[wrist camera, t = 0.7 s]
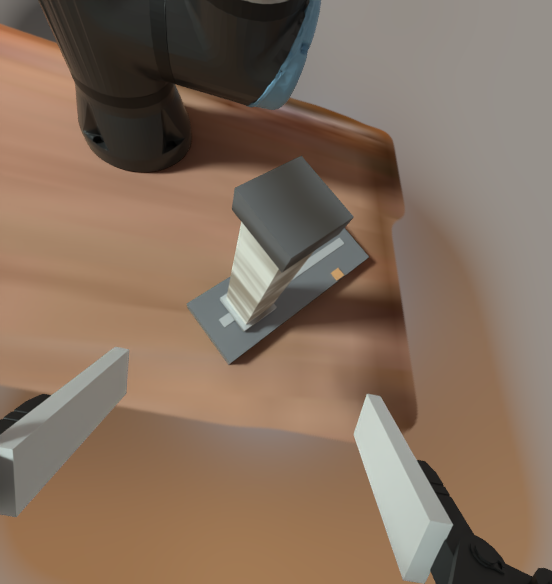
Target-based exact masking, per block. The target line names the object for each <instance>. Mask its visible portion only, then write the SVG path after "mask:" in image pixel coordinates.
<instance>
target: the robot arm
mask: <svg viewBox="0 0 552 584" xmlns="http://www.w3.org/2000/svg"><path fill="white" fill-rule="evenodd" d="M38 1H39V3H40V5H41V8H42V10H43V12H44V14H45V17H46V19H47V21H48V23H49V26H50V28H51V30H52V32H53V35H54V37H55V39H56V41H57V44H58V46H59V48H60V50H61V53H62V55H63V57H64V59H65V61H66V64H67V66H68V68H69V70H70V72H71V75H72V77H73V79H74V82H75V88H76V100H77V112H78V122H79V125H80V129H81V131H82V133H83V135H84V137H85V139H86V141H87V143H88V145H89V147H90V148H91V149H92V151H93V152H94V153H95V154H96V155H97V156H98V157H100V158H101V159H102V160H104V161H105V162H107V163H109V164H111V165H113V166H115V167H118V168H121V169H124V170H129V171H136V172H151V171H157V170H162V169H165V168H168V167H170V166H172V165H174V164H175V163H177V162H178V161H180V160H181V159H182V158H183V157H184V156H185V155H186V153H187V152H188V150H189V148H190V145H191V138H192V137H191V124H190V119H189V116H188V113H187V111H186V109H185V106H184V104H183V102H182V99H181V97H180V95H179V93H178V90H177V88H176V86H175V84H177V85H180V86H183V87H187V88H190V89H193V90H197V91H200V92H203V93H207V94H210V95H214V96H217V97H220V98H224V99H227V100H230V101H234V102H237V103H240V104H244V105H246V106H249V107H260V108H264V109H269V110H275V109H279V108H280V107H282V106H283V105H284V104H285V103H286V102H287V101H288V99H289V98H290V96H291V94H292V92H293V91H294V89H295V86H296V84H297V82H298V80H299V77H300V75H301V73H302V70H303V67H304V64H305V61H306V58H307V51H308V49H309V47H310V45H311V42H312V39H313V36H314V33H315V29H316V25H317V21H318V17H319V12H320V5H321V0H38ZM128 360H129V349H124V348H119V347H114V348H113V349H111V350H110V351H109V352H108V353H106V354H105V355H104V356H102V357H101V358H100V359H98V360H97V361H96V362H94V363H93V364H92V365H91V366H89V367H88V368H87V369H85V370H84V371H83V372H81V373H80V374H79V375H77V376H76V377H75V378H74V379H72V380H71V381H70V382H68V383H67V384H66V385H64V386H63V387H62V388H61V389H59V390H58V391H57V392H55V393H54V394H53V395H47V394H41V395H39V396H37V397H34V398H32V399H30V400H28V401H26V402H25V403H23V404H22V405H20V406H19V407H18V408H16V409H15V410H14V412H11V413H9V414H8V415H6V416H5V417H4V418H3V419H1V420H0V514H1V515H7V516H13V517H17V516H18V515H19V514H20V512H21V511H22V510H23V509H24V508H25V507H26V506H27V504H28V503H29V502H30V501H31V500H32V499H33V498H34V497H35V496H36V494H37V493H38V492H39V491H40V490H41V489H42V488H43V486H44V485H45V484H46V483H47V482H48V481H49V480H50V479H51V477H52V476H53V475H54V474H55V473H56V472H57V471H58V470H59V469H60V467H61V466H62V465H63V464H64V463H65V462H66V461H67V460H68V458H69V457H70V456H71V455H72V454H73V453H74V452H75V451H76V449H77V448H78V447H79V446H80V445H81V444H82V443H83V442H84V440H85V439H86V438H87V437H88V436H89V435H90V434H91V433H92V431H93V430H94V429H95V428H96V427H97V426H98V425H99V423H100V422H101V421H102V420H103V419H104V418H105V417H106V416H107V415H108V413H109V412H110V411H111V410H112V409H113V408H114V407H115V406H116V404H117V403H118V402H119V401H120V400H121V399H122V398H123V397H124V395H125V394H126V390H127V375H128ZM354 437H355V440H356V443H357V446H358V449H359V452H360V455H361V458H362V460H363V464H364V467H365V469H366V472H367V475H368V478H369V481H370V484H371V487H372V490H373V493H374V496H375V499H376V502H377V505H378V508H379V511H380V514H381V516H382V519H383V522H384V525H385V528H386V531H387V534H388V537H389V540H390V543H391V546H392V549H393V552H394V555H395V558H396V560H397V563H398V567H399V569H400V572H401V575H402V578H403V580H405V581H411V582H417V583H424V584H425V582H426V580H427V578H428V576H429V573H430V571H431V573H432V575H433V578H434V580H435V582H436V584H552V571H551V570H548V569H546V568H538V570H537V571H536V572H535V574H534V575H533V577H532V576H530V575H528V574H525V573H523V572H521V571H519V570H517V569H515V568H513V567H511V566H509V565H507V564H505V562H504V560H503V559H502V557H501V556H500V555H499V554H498V553H497V551H496V550H495V549H494V548H493V547H492V546H491V545H489V544H488V543H487V542H486V541H484V540H483V539H481V538H479V537H478V536H475V535H474V533H473V532H472V530H471V529H470V527H469V525H468V524H467V522H466V521H465V519H464V517H463V516H462V514H461V512H460V511H459V509H458V508H457V506H456V504H455V503H454V501H453V499H452V498H451V497H450V496H449V493H448V491H447V490H446V488H445V487H444V486H443V483H442V481H441V480H440V478H439V477H438V475H437V473H436V472H435V471H434V470H433V469H432V468H431V467H430V466H429V465H428V464H427V463H426V462H425V461H420V460H416V458H415V457H414V455H413V453H412V452H411V449H410V448H409V446H408V444H407V442H406V441H405V439H404V437H403V435H402V434H401V432H400V430H399V428H398V426H397V425H396V423H395V421H394V419H393V418H392V416H391V414H390V412H389V411H388V409H387V407H386V405H385V404H384V402H383V400H382V398H381V396H376V395H371V394H367V395H366V398H365V401H364V404H363V407H362V410H361V414H360V417H359V420H358V423H357V426H356V429H355V432H354Z"/></svg>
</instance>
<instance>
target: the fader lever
mask: <svg viewBox="0 0 552 584" xmlns="http://www.w3.org/2000/svg"><path fill="white" fill-rule="evenodd" d="M232 210H233V212H234V213H235V214H236V215H237V217H238V218H239V219H240V220H241V227H240V232H239V237H238V242H237V247H236V252H235V257H234V262H233V267H232V272H231V277H230V282H229V287H228V292H227V294H225V295H224V296H222V297H220V301H221V302H222V304H223V305H224V306H225V308H226V309H227V310H228V312H229V313H230V314H231V316H232V317H233V318H234V320H235V321H236V323H237V324H238V325H239V327H240V328H241V329H242V331H243V332H245V331H246V330H248V329H249V328H250V327H252V326H253V325H254V324H256V323H257V322H259V321H260V320H261V319H263V318H264V317H265V316H267V315H268V314H270V313H271V312H272V311H274V310H275V309H276V308H277V307H276V306H275V304H274V302H275V301H276V300H277V298H278V297H279V296H280V294H281V293H282V292H283V291H284V289H285V288H286V287H287V285H288V284H289V283H290V282H291V280H292V279H293V278H294V276H295V275H296V274H297V273H298V271H299V270H300V269H301V267H302V266H303V265H304V264H305V262H306V261H307V260H308V258H309V257H310V256H311V255H312V253H313V252H314V251H315V250H316V249H318V248H319V247H321V246H322V245H324V244H325V243H327V242H328V241H330V240H331V239H333V238H334V237H336V236H337V235H339V234H340V233H341V231H342V230H343V229H344V228H345V227H346V226H347V224H348V223H349V222H350V221H351V220H352V218H353V216H352V214H351V213H350V212H349V211H348V210H347V209H346V207H345V206H344V205H343V204H342V203H341V202H340V200H339V199H338V198H337V197H336V196H335V195H334V193H333V192H332V191H331V190H330V189H329V188H328V186H327V185H326V184H325V183H324V182H323V181H322V179H321V178H320V177H319V176H318V175H317V174H316V172H315V171H314V170H313V169H312V168H311V167H310V165H309V164H308V163H307V162H306V161H305V160H304V158H303V157H302V156H300V157H298V158H296V159H294V160H292V161H290V162H287V163H285V164H283V165H281V166H279V167H277V168H275V169H273V170H271V171H269V172H267V173H265V174H263V175H260V176H258V177H256V178H254V179H252V180H250V181H248V182H246V183H244V184H242V185H240V186H238V187H236V188H235V190H234V198H233V205H232Z"/></svg>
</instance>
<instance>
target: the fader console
mask: <svg viewBox="0 0 552 584" xmlns="http://www.w3.org/2000/svg"><path fill="white" fill-rule="evenodd" d="M367 258H369V256H368V255H367V254H366V253H365V252H364V250H363V249H362V248H361V247H360V246H359V245H358V243H357V242H356V241H355V240H354V239H353V237H352V236H351V235H350V234H349V233H348V232H347V230H346V229H345V228H344V229H343V230H342V231H341V233H340V234H339V235H337V236H336V237H334V238H333V239H331V240H330V241H328V242H327V243H325V244H324V245H322V246H321V247H319V248H318V249H316V250H315V251H314V252H313V253H312V255H311V256H310V257H309V258H308V260H307V261H306V262H305V264H304V265H303V266H302V267H301V269H300V270H299V271H298V273H297V274H296V275H295V276H294V278H293V279H292V280H291V282H290V283H289V284H288V285H287V287H286V288H285V289H284V291H283V292H282V293H281V294H280V296H279V297H278V298H277V300H276V301H275V302H274V304H275V306H276V307H277V308H276V309H275V310H274V311H272V312H271V313H270V314H268V315H267V316H265V317H264V318H263V319H261V320H260V321H259V322H257V323H256V324H254V325H253V326H252V327H250V328H249V329H248V330H246V331H245V332H243V331H242V329H241V328H240V327H239V325H238V324H237V323H236V321H235V320H234V318H233V317H232V316H231V314H230V313H229V312H228V310H227V309H226V308H225V306H224V305H223V304H222V302H221V301H220V297H222V296H224V295H225V294H227V292H228V287H229V282H230V277H231V276H230V277H229V278H227V279H226V280H224V281H222V282H221V283H219V284H218V285H216V286H214V287H213V288H211V289H209V290H208V291H206V292H205V293H203V294H201V295H200V296H198V297H197V298H195V299H193V300H192V301H190V302H189V303H187V307H188V309H189V311H190V312H191V313H192V315H193V316H194V317H195V319H196V320H197V322H198V323H199V324H200V326H201V327H202V329H203V330H204V331H205V333H206V334H207V336H208V337H209V338H210V340H211V341H212V342H213V344H214V345H215V347H216V348H217V349H218V351H219V352H220V354H221V355H222V356H223V358H224V359H225V361H226V362H227V363H228V365H229V364H230V363H232V362H233V361H234V360H236V359H237V358H238V357H240V356H241V355H242V354H243V353H245V352H246V351H247V350H249V349H250V348H251V347H253V346H254V345H255V344H257V343H258V342H259V341H260V340H262V339H263V338H264V337H266V336H267V335H268V334H270V333H271V332H272V331H274V330H275V329H276V328H277V327H279V326H280V325H281V324H283V323H284V322H285V321H287V320H288V319H289V318H291V317H292V316H293V315H294V314H296V313H297V312H298V311H300V310H301V309H302V308H304V307H305V306H306V305H307V304H309V303H310V302H311V301H313V300H314V299H315V298H317V297H318V296H319V295H321V294H322V293H323V292H324V291H326V290H327V289H328V288H330V287H331V286H332V285H334V284H335V283H336V282H338V281H339V280H340V279H341V278H343V277H344V276H345V275H347V274H348V273H349V272H351V271H352V270H353V269H354V268H356V267H357V266H358V265H360V264H361V263H362V262H364V261H365V260H366V259H367Z"/></svg>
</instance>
